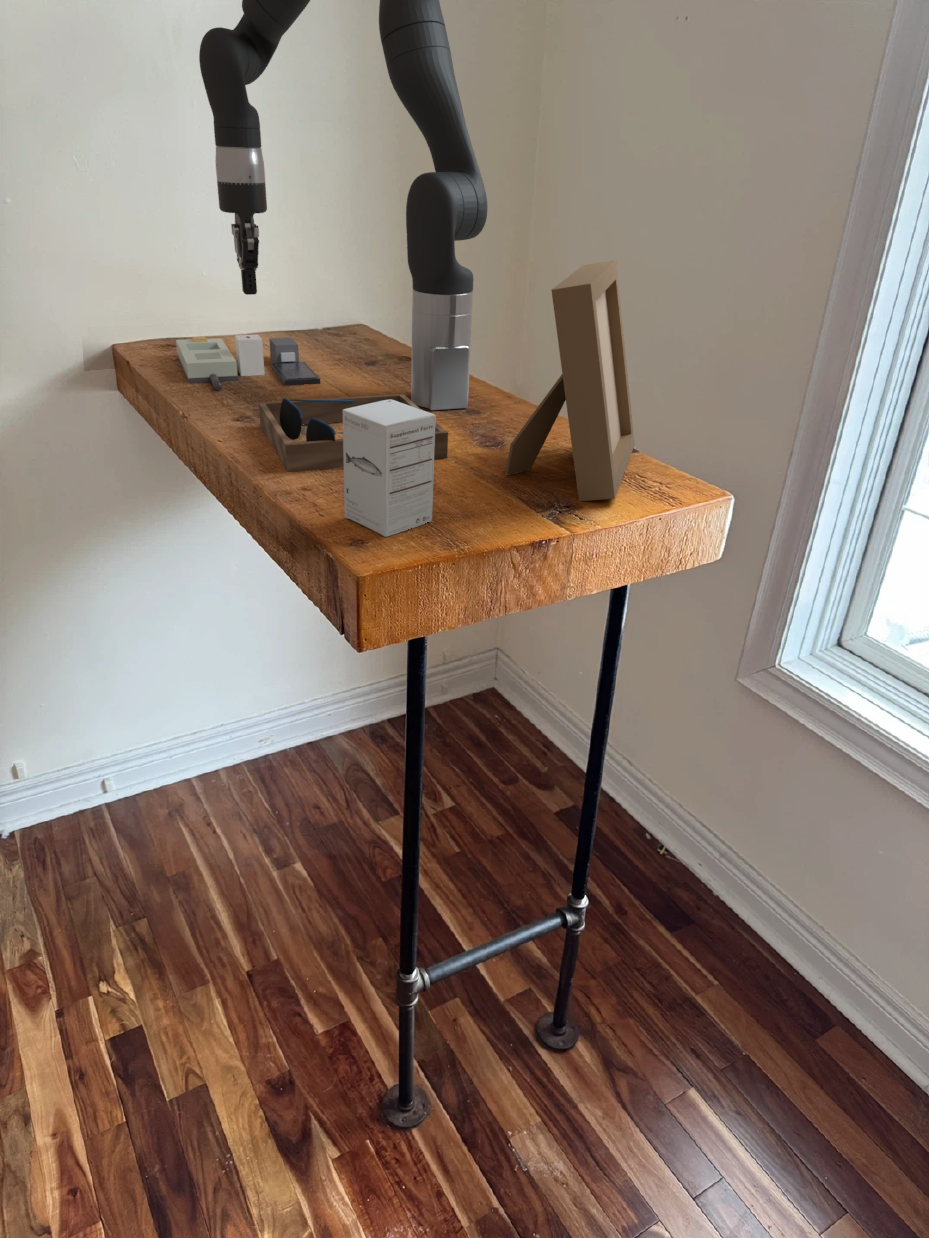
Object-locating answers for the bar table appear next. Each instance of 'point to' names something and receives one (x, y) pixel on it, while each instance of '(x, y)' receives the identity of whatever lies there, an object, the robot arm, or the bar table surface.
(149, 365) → the bar table surface
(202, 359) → the strip
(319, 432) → the sunglasses
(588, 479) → the photo frame
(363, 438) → the supplement box
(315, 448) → the valet tray
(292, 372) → the phone
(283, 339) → the plug
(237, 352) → the charger
